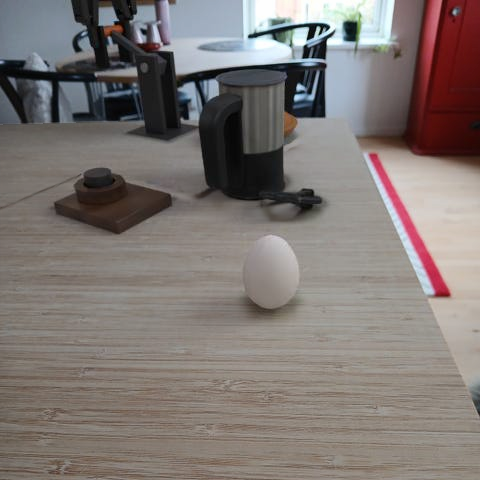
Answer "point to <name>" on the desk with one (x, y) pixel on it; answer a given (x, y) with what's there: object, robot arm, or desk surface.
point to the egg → (270, 272)
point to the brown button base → (112, 204)
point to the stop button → (98, 177)
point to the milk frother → (248, 138)
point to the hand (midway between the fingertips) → (115, 64)
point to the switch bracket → (159, 98)
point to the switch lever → (131, 45)
